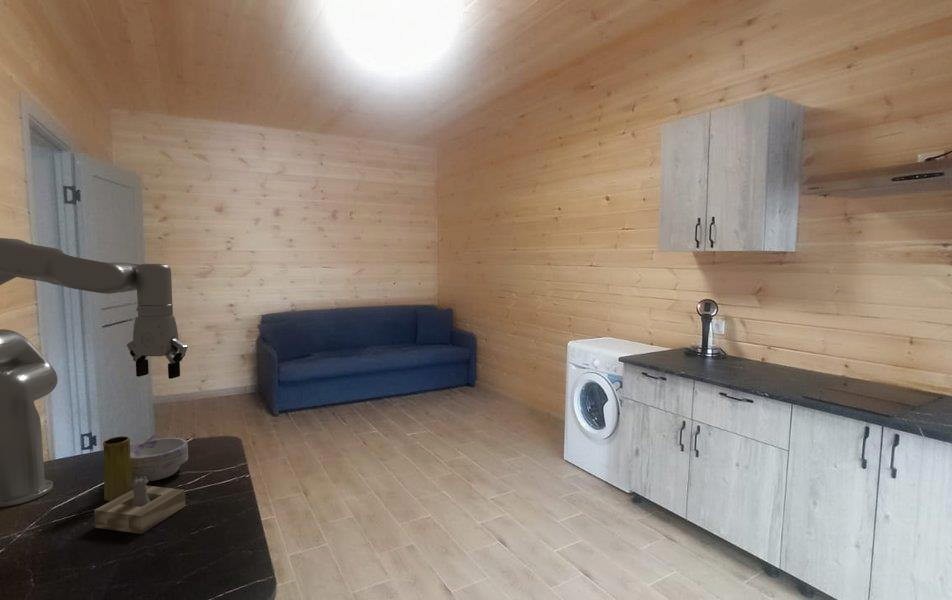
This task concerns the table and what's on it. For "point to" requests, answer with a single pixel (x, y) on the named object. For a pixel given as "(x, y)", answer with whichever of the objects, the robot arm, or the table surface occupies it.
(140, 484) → the rook chess piece
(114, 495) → the vase
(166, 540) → the table surface
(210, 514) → the table surface
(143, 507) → the socket block
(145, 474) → the paper bowls
